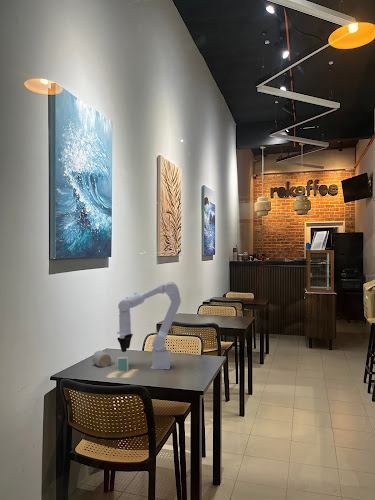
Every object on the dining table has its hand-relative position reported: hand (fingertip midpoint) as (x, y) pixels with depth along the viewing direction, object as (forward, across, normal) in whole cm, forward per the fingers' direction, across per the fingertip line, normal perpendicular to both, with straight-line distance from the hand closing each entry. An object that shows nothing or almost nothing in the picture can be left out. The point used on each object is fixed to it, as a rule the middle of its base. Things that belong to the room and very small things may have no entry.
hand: (125, 350), depth 205 cm
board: (+9, +10, +1) cm, 14 cm away
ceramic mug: (+10, -6, -13) cm, 17 cm away
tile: (+9, +6, 0) cm, 11 cm away
